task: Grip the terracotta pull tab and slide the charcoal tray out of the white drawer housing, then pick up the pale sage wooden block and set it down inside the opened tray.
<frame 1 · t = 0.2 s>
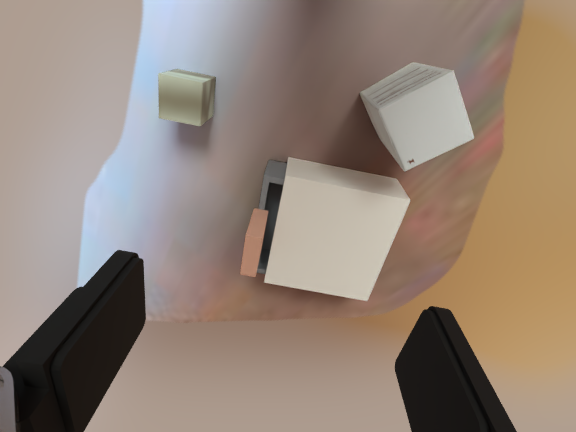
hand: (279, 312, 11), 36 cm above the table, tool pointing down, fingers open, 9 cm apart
supplement box: (395, 102, 42), on the table
sage block: (195, 93, 42), on the table
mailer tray: (315, 240, 45), point 7 cm above the table, slide at 0.0 cm
white drawer housing: (316, 217, 50), on the table
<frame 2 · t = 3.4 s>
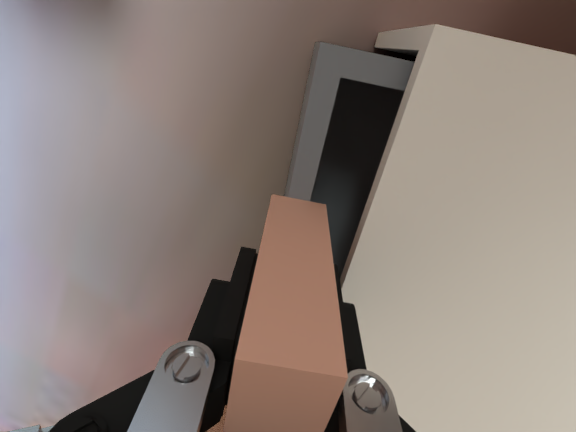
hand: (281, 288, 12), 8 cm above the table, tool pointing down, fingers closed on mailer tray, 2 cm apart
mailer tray: (483, 306, 13), point 7 cm above the table, slide at 0.0 cm, touching gripper
white drawer housing: (433, 226, 19), on the table
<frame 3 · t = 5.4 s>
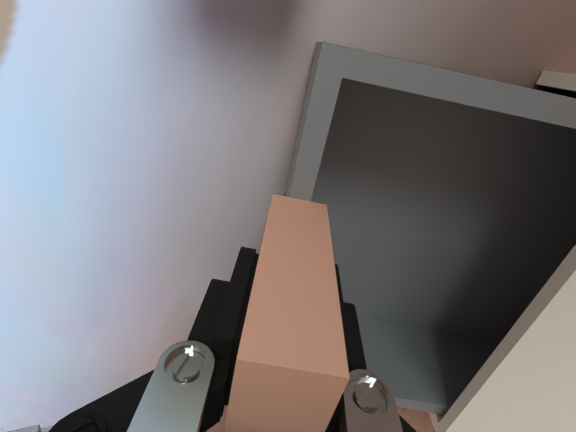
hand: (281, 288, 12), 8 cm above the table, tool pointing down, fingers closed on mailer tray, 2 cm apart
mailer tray: (483, 307, 13), point 7 cm above the table, slide at 7.8 cm, touching gripper
white drawer housing: (556, 251, 19), on the table
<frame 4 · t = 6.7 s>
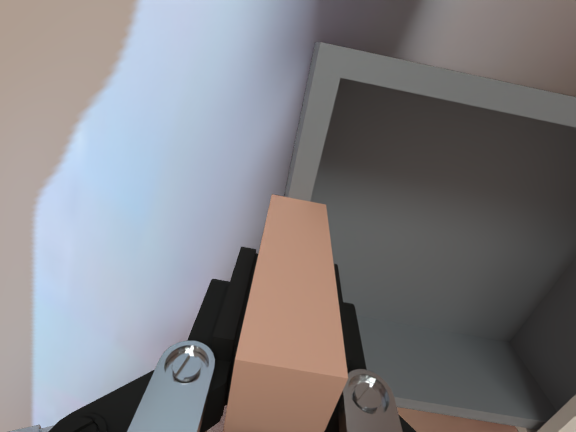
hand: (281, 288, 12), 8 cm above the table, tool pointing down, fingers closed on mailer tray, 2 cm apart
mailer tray: (483, 307, 13), point 7 cm above the table, slide at 12.9 cm, touching gripper
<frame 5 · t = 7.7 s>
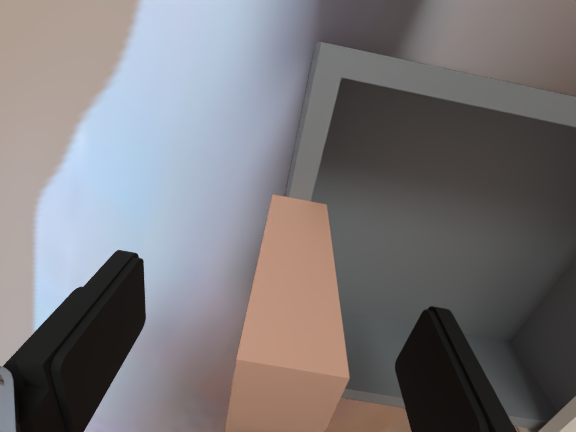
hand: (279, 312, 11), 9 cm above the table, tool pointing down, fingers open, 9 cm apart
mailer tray: (484, 307, 13), point 7 cm above the table, slide at 13.0 cm
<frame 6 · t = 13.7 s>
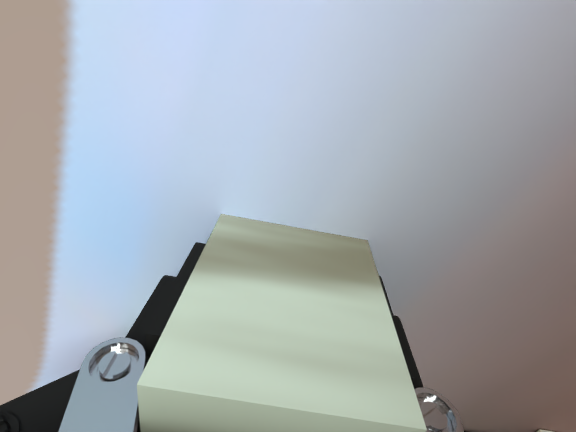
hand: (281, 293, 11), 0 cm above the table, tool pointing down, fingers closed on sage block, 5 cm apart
sage block: (282, 283, 12), on the table, touching gripper
when the fingers open (3 cm above the table, at t = 22.4 s): sage block drops 1 cm, resting on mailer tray.
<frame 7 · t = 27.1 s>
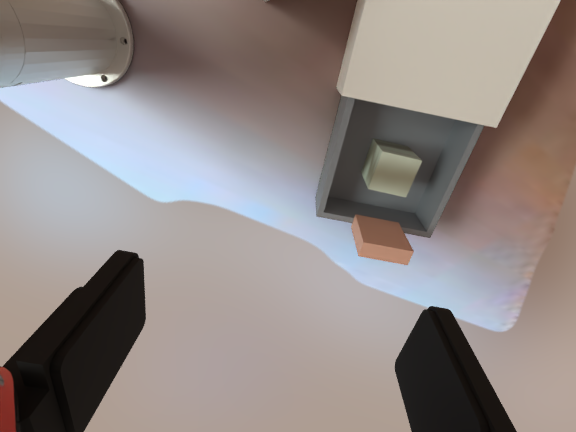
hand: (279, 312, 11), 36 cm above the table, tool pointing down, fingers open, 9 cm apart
sage block: (383, 159, 44), point 1 cm above the table, touching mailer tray
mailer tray: (396, 169, 39), point 7 cm above the table, slide at 13.0 cm, touching sage block
white drawer housing: (421, 47, 38), on the table
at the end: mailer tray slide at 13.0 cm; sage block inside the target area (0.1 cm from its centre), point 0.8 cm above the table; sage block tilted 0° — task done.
